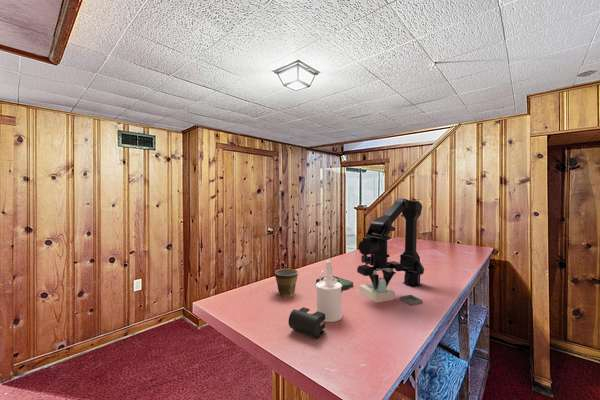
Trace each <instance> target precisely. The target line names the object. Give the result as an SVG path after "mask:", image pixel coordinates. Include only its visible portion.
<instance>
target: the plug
mask: <svg viewBox="0 0 600 400" xmlns="http://www.w3.org/2000/svg"><path fill="white" fill-rule="evenodd" d="M386 288H387V287H386V281H385V279H384V278H383V277H380V276H379V278H378V286H377V290H375V291H376V292H378V293H383V292H386Z"/></svg>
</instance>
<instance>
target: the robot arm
mask: <svg viewBox="0 0 600 400" xmlns="http://www.w3.org/2000/svg"><path fill="white" fill-rule="evenodd" d="M422 209H423V205H422V203H421V202H420V201H419V200H410V199H407V198H397V199H395V200H394V203H392V205H391V206H390V207H389V208H388V209H387V211H386V212H384V214H383V215H382V216H379V217H376V218H375V219H373V220H372V221H371V222H370V225H369V227H368V229H367V231H366V234H365V237H362V240H361V241H360V242H359V244H358V251H359V253H360V254H361V259H360V261H361V263H362V264H361V265H358V266H357V268H356V269H357V271H356V272H357V273H358V274H359V275H362V276H364V277H369V279H370V280H371V283H372V284H373V287H374V289H375V290H377V286H378V278H379V277H380V276H379V274H378V273H377V272H379V271H381V272H382V274H383V275H382V278H384V279H385V281H386V288H388V285H389V284H390V281H391V280H392V278H393V277H394V276H395V275H396V274H397V272H404V277H403V278H404V279H403V280H404V281H403V282H402V284H404V285H405V286H408V287H410V288H417V287H423V284H422V283H421V276H422V275H424V273H425V268H424V266H423V265H422V263H421V257H420V255H419V253H418V252H417V241H418V240H417V237H418V235H417V234H418V233H417V232H418V230H417V229H418V227H417V226H418V220H419V218H420V216H421V215H422ZM401 214H402V216H403V218H404V219H405V222H404V223H405V226H404V227H405V230H404V231H405V233H404V251H403V252H402V253H400V258H399V259H400V260H399V262H397V261H394V260H393V261H388V258H390V253H389V254H388V241H389V240H391V237H390V236H388V235H389V234H390V233H391V231H392V229H393V223H394V222H395V221H396V220H397V219H398V217H399V216H400V215H401ZM369 255H370V256H369ZM364 263H365V264H364ZM394 270H395V271H394Z"/></svg>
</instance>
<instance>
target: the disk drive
mask: <svg viewBox="0 0 600 400" xmlns="http://www.w3.org/2000/svg"><path fill="white" fill-rule="evenodd" d="M324 277H326V276H325V275H324V276H321V281H322V280H323V279H324ZM332 277H334V278H337V282H339V283H341V284H342V288H341V292H343V291H346V290H348V289H350V288H352V287H354V282H353V281H351V280H348V279H346V278H345V279H344V278H342V277H338V276H334V275H332ZM323 281H325V279H324V280H323ZM333 281H334V279H333ZM318 282H320V279H319V278H317V279H316V280H315V284H316V283H318Z"/></svg>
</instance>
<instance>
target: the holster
mask: <svg viewBox="0 0 600 400" xmlns="http://www.w3.org/2000/svg"><path fill="white" fill-rule="evenodd" d="M398 300H399V301H402V302H403V303H405V304H407V305H409V306H414V305H419V304H423V299H421V298H419V297H416V296H415V295H413V294H407V295H401V296H399V299H398Z"/></svg>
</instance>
